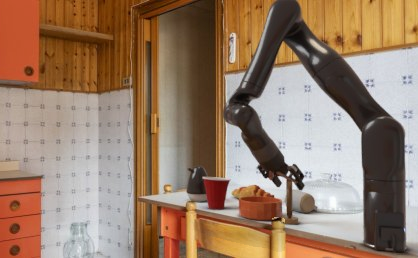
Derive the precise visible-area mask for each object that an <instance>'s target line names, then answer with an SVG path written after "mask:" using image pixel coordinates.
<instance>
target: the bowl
mask: <svg viewBox="0 0 418 258" xmlns="http://www.w3.org/2000/svg"><path fill="white" fill-rule="evenodd" d="M238 215H239V216H241V217H242V218H243V219H248V220H253V221H263V222H264V221H266V222H267V221H269V222H270V221H273V220H272V218H274V217H283V200H282V199H280V198H278V197H274V198H273V197H264V196H247V197H241V198H239V199H238Z"/></svg>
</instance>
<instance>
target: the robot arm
mask: <svg viewBox="0 0 418 258" xmlns="http://www.w3.org/2000/svg"><path fill="white" fill-rule="evenodd" d="M283 43H284V44H285V45H286V46H287V47H288V48H289V49H290V50H291V51H292V52H293V53H294V54H295V56H296V57H297V59H298V61H299V62H300V64H301V65H302V67H303V68H304V69H305V71H306V72H307V73H308V74H309V76H310V77H311V78H312V80H313V81H314V82H315V83H316V85H317V86H318V87H319V88H320V89H321V91H323V93H324V94H325V95H326V96H327V97H329V98H330V99H331V100H332V102H334V103H335V104H336V105H337V106H338V107H340V108H341V109H342V110H343V111H344V112H345V113H346V114H347V115H348V116H349V118H350V119H351V120H352V121H353V122H354V124H355V125H356V127H357V128H358V130H359V132H360V133H361V134H360V135H361V136H360V137H361V138H360V147H361V148H360V149H361V151H360V152H361V168H362V212H363V213H362V214H363V215H362V216H363V217H362V218H363V219H362V220H363V221H362V222H363V224H362V226H363V227H362V228H363V240H362V244H363V245H364V246H366V247H368V248H371V249H374V250H376V251H383V252H384V251H385V252H393V253H397V252H398V253H405V251H406V250H407V249H408V245H407V203H406V202H407V199H406V198H407V197H406V195H407V194H406V193H407V191H406V188H407V187H406V179H407V178H406V175H407V174H406V171H407V169H406V130H405V128H404V125H402V123H401V122H399V120H397V119H396V118H394V117H393V116H392V115H391V114H390V113H389V112H388V111H387V110H386V109H385V108H384V107H382V106H381V104H379V103H378V101H376V99H374V96H373V95H372V94H371V93H370V92H369V89H368V88H367V87H366V86H365V84H364V83H363V81H362V79H361V78H360V77H359V76H358V74H357V72H355V70H354V69H353V67H352V66H351V65H350V64H349V63H348V61H347V60H346V59H345V58H344V57H343V55H341V54H340V53H339V52H338V51H336V49H334V48H333V47H332V46H330V45H328V44H327V43H326V42H324V41H322V40H321V39H320V38H319V37H317V36H316V34H314V32H313V31H312V30H311V28H310V26H308V24H307V23H306V21H305V20H304V18H303V11H302V7H301V5H300V2H299V1H298V0H275V1H273V2H272V4H271V5H270V6H269V8H268V11H267V15H266V18H265V23H264V26H263V30H262V32H261V35H260V38H259V41H258V43H257V46H256V49H255V51H254V53H253V55H252V58H251V59H250V62H249V64H248V66H247V68H246V70H245V72H244V75H243V76H242V79H241V81H240V83H239V85H238V87H237V88H236V89H235V90H234V91H233V93H232V94H231V96H230V97H229V98H228V100H227V101H226V103H225V105H224V107H223V110H222V119H223V121H224V122H226V123H227V124H228V125H231V126H235V127H236V128H238V129H240V131H241V133H240V137H241V139H242V141H243V143H244V144H245V146H246V147H247V148H248V149H249V151H250V153H251V155H252V156H253V158H254V159H255V160H256V161H257V163H258V165H257V167H256V168H257V170H258V171H259V172H260V174H261V175H262V177H263V178H264V179H268V180H270V181H272V183H273V184H274V185H275V187H276V188H280V187H281V186H282V184H283V183H282V180H281V179H280V178H279V177H281V178H284V179H285V180H291V181H292V183H293V184H294V185H295V186H296V188H297V190H298V191H301V192H303V189H304V188H305V186H306V185H305V184H304V182H303V180H304V179H305V176H306V175H305V174H304V173H303V172H302V171H301V169H300V168H299V167H298V165H297V164H296V163H292V165H289V164H287V163H286V162H285V161H286V160H285V156H284V155H283V153H282V151H281V149H280V148H279V147H278V146H277V144H276V143H275V141H274V140H273V139H272V138H271V137H270V136H269V134H268V132H267V131H266V130H265V128H263V123H262V121H261V119H260V116H259V113H258V112H257V111H256V109H255V108H254V107H253V106H252V105H250V103H251V102H252V101H254V100H258V99H260V98H261V97H262V95H263V93H264V92H265V89H266V87H267V85H268V83H269V81H270V77H271V76H272V73H273V70H274V67H275V64H276V61H277V59H278V58H277V57H278V55H279V51H280V49H281V46H282V44H283ZM288 174H289V175H288Z"/></svg>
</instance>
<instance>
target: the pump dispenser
mask: <svg viewBox="0 0 418 258" xmlns="http://www.w3.org/2000/svg"><path fill="white" fill-rule="evenodd" d="M187 171H188V172H189V176H188V179H187V183H186V189H185V191H186V194H187V197H188V199H189V200H190V201H191V202H194V203H204V202H206V201H207V196H206V190H205V185H204V180H203V177H209V176H208V172H207V171H206V169H205V168H204V166H202V165H195V166H193V167H192V168H191V167H187Z"/></svg>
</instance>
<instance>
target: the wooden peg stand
mask: <svg viewBox="0 0 418 258" xmlns="http://www.w3.org/2000/svg"><path fill="white" fill-rule="evenodd" d="M285 182H286V183H285V185H286V187H285V189H286V194H285V196H286V200H287V206H286V215H284V216H283V215H282V217H281V218H284V219H285V224H284V225H291V226H292V225H298V224H299V218H298V217H296V216H293V215H294V214H293V213H294V212H293V211H294V210H293V204H292V190H293V182H292V181H291V180H287V179H285ZM281 218H280V219H281Z"/></svg>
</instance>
